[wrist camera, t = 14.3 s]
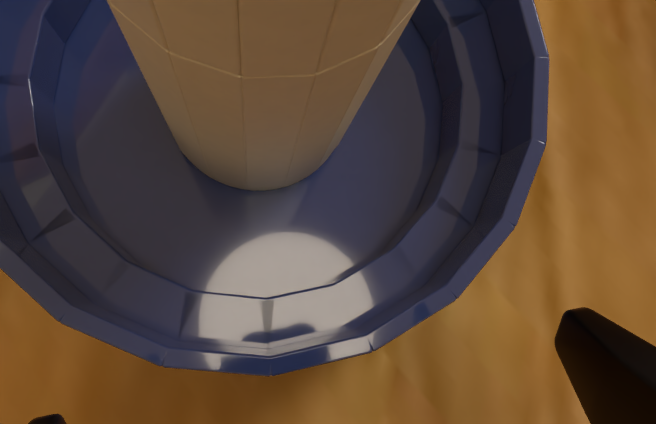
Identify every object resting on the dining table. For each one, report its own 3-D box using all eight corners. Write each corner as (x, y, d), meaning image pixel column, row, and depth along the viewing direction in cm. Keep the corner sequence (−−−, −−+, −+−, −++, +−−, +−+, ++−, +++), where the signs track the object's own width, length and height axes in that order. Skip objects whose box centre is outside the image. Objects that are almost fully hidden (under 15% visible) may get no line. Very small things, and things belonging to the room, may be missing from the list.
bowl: (381, 436, 18) (422, 481, 14) (-104, 223, 17) (-229, 197, 13) (544, 19, 21) (620, -54, 17) (148, -180, 20) (119, -313, 16)
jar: (353, 185, 19) (545, -27, 6) (171, 197, 18) (-4, -22, 6) (336, 20, 19) (476, -439, 7) (162, 23, 19) (-8, -495, 6)
